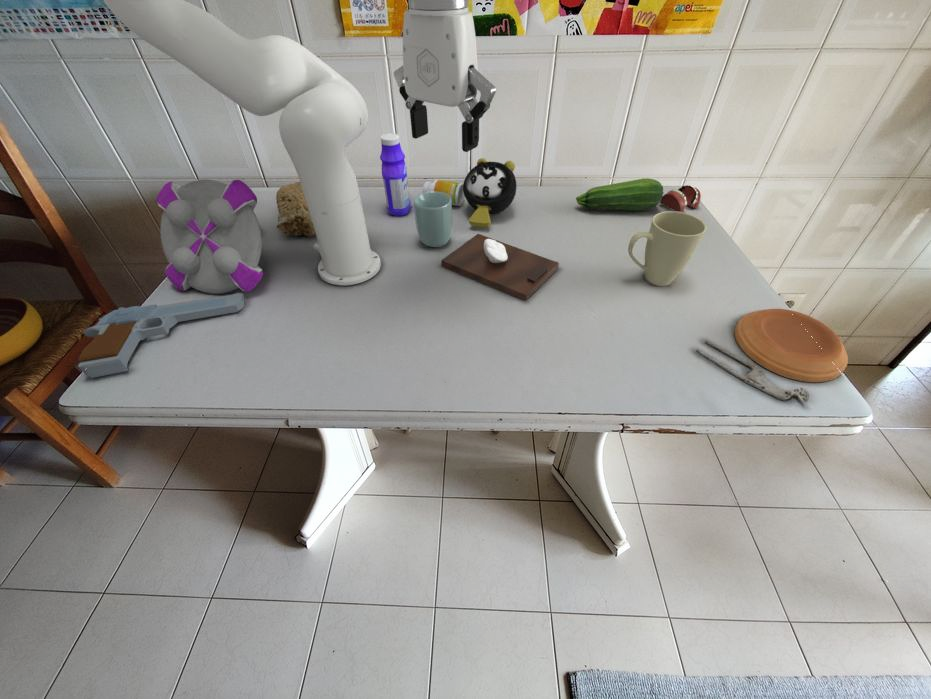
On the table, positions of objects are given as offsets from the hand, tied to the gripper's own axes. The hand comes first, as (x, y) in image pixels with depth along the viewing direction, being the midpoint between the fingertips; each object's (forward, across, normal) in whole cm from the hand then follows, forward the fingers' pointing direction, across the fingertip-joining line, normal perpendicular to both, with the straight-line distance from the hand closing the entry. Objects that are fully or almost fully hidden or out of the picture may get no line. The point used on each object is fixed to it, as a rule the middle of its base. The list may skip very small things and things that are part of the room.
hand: (444, 142), depth 65 cm
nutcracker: (+26, +52, +6) cm, 58 cm away
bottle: (+26, -29, +16) cm, 42 cm away
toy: (+15, -36, -27) cm, 48 cm away
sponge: (+26, -45, 0) cm, 52 cm away
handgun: (+25, -24, -45) cm, 57 cm away
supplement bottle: (+24, -18, +28) cm, 40 cm away
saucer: (+23, +56, +18) cm, 63 cm away
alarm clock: (+26, -10, +28) cm, 39 cm away
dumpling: (+25, +4, +10) cm, 27 cm away
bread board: (+26, +5, +10) cm, 29 cm away
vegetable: (+26, +14, +48) cm, 56 cm away
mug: (+26, +32, +24) cm, 48 cm away
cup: (+26, -12, +10) cm, 31 cm away
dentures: (+24, +25, +54) cm, 64 cm away
